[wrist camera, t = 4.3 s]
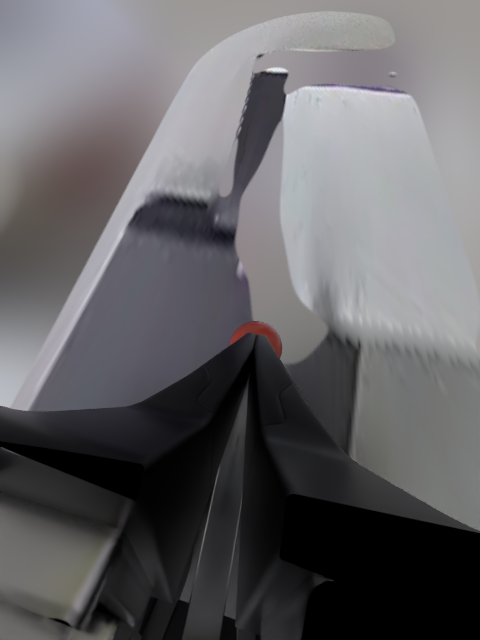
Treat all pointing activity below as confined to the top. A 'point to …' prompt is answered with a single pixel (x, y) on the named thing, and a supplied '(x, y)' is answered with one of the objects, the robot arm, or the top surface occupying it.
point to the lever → (219, 532)
